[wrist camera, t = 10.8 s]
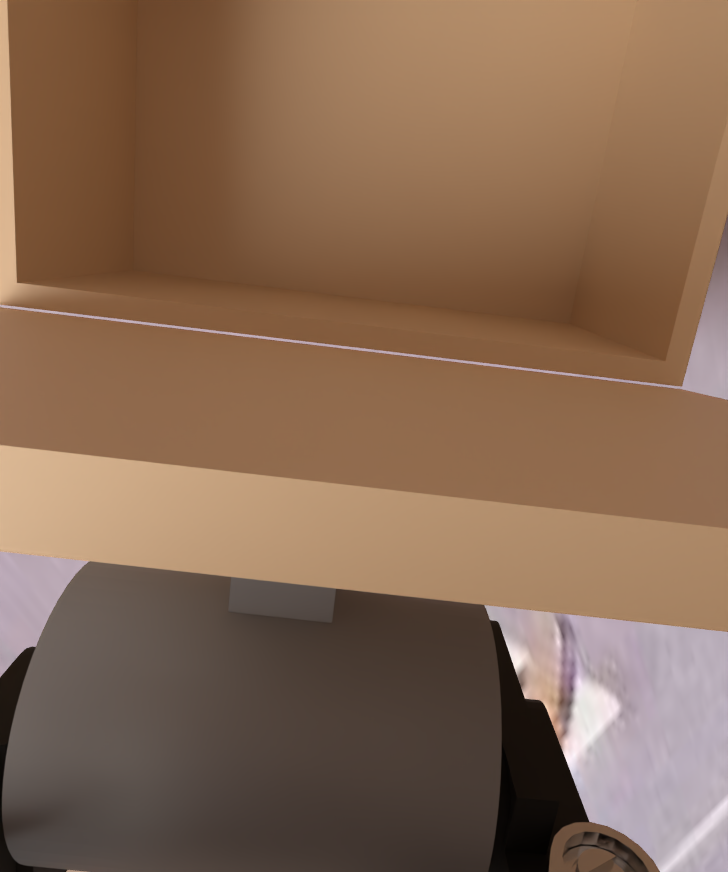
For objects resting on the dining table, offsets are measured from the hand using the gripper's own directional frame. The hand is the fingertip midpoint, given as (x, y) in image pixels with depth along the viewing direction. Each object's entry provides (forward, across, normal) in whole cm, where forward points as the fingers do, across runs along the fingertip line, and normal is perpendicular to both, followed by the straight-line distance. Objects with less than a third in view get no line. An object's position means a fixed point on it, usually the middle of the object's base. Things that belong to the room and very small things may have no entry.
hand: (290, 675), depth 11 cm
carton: (+24, 0, -13) cm, 28 cm away
